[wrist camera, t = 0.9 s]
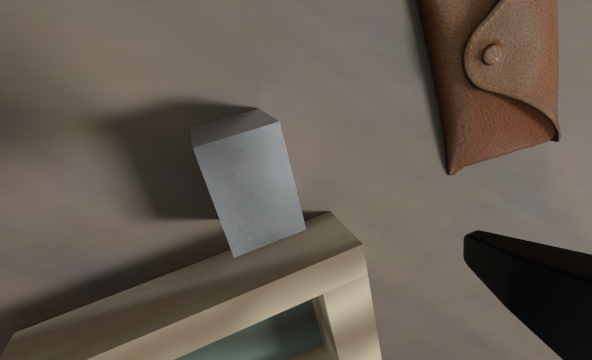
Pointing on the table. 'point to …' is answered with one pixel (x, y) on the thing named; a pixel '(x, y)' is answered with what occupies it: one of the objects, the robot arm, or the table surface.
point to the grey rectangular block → (249, 179)
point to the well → (229, 309)
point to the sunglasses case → (493, 75)
